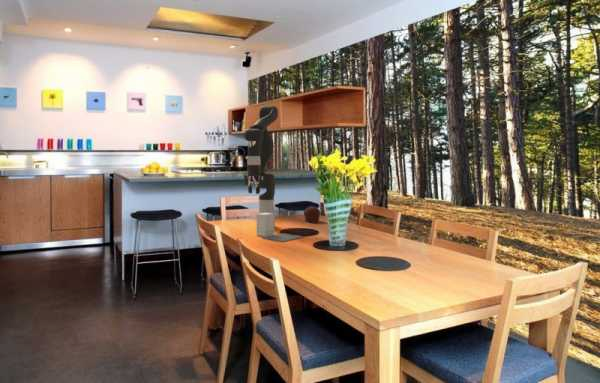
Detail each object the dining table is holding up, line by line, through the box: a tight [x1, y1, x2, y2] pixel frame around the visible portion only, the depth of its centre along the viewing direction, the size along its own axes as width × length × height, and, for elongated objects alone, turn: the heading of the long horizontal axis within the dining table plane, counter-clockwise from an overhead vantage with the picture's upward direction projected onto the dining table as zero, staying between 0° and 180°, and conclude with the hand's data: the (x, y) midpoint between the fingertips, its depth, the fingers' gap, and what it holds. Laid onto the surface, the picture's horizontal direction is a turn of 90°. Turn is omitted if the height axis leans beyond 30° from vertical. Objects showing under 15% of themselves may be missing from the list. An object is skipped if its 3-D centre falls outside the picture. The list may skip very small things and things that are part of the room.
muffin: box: [303, 206, 321, 224], centre depth 326 cm, size 12×11×10 cm
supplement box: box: [256, 212, 275, 238], centre depth 275 cm, size 7×7×13 cm
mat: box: [262, 232, 304, 243], centre depth 269 cm, size 17×15×1 cm
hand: (254, 193), depth 279 cm, fingers open, 5 cm apart
